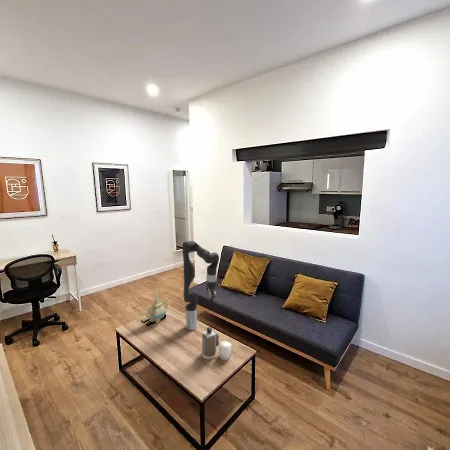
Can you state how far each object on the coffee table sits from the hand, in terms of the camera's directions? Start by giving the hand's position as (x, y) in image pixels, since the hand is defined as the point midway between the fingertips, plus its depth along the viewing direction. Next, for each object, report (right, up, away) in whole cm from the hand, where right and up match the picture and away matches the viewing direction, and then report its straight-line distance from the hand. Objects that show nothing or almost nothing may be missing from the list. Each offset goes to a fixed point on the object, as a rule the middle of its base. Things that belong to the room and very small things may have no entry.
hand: (211, 301), depth 185 cm
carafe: (-1, -36, -5) cm, 36 cm away
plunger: (-1, -34, -5) cm, 34 cm away
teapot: (-49, -30, +35) cm, 67 cm away
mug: (+10, -37, -7) cm, 39 cm away
